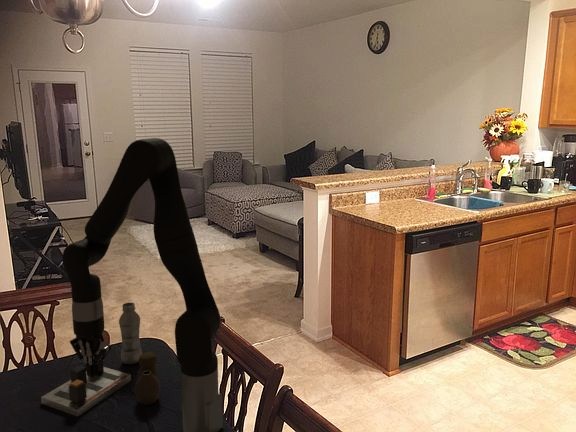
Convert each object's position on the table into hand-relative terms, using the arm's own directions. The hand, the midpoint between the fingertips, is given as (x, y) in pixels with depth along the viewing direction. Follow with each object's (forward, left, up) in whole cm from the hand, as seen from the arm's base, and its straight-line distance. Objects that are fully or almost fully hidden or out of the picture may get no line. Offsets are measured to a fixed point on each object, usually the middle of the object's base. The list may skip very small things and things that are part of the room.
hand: (92, 375), depth 128 cm
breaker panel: (+10, -7, -11) cm, 16 cm away
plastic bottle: (+11, -26, -11) cm, 30 cm away
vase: (-9, -11, -11) cm, 18 cm away
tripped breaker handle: (+6, 0, -9) cm, 11 cm away
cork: (-5, -16, -11) cm, 20 cm away
